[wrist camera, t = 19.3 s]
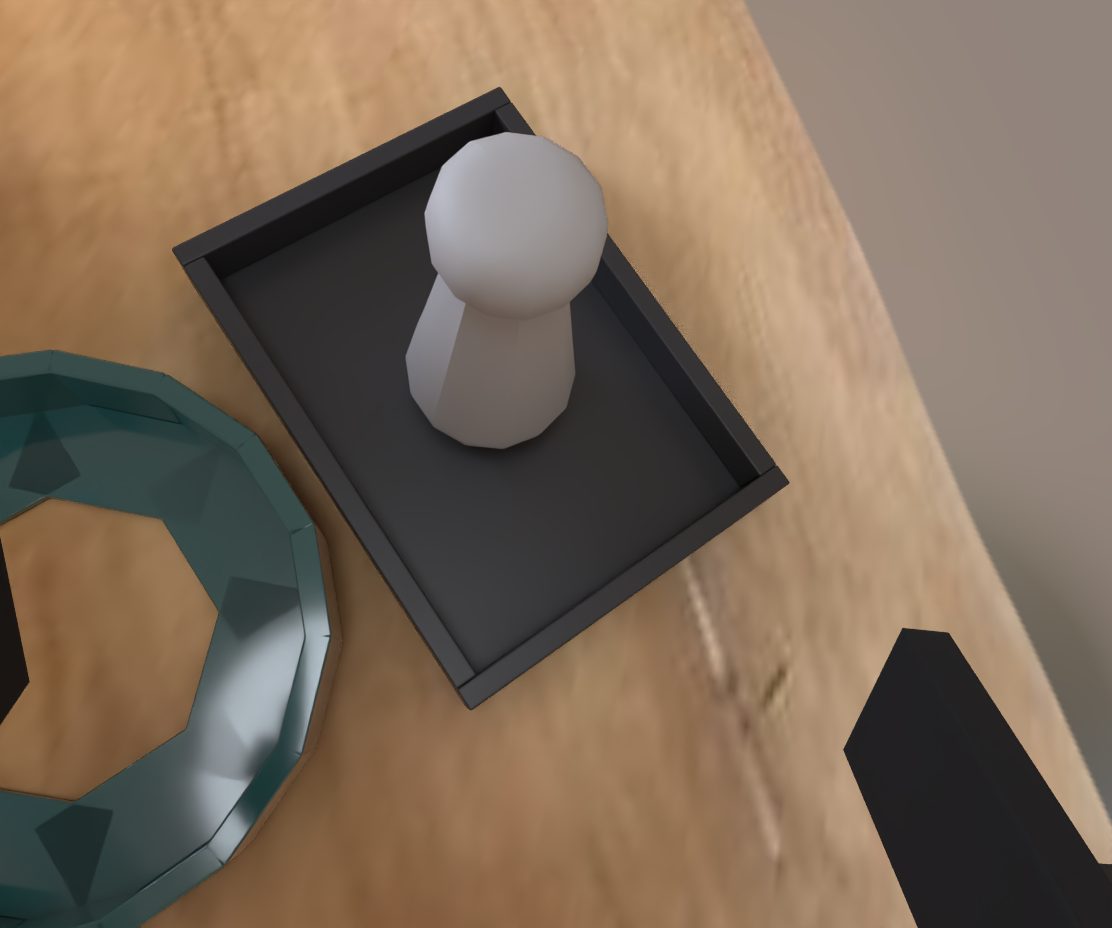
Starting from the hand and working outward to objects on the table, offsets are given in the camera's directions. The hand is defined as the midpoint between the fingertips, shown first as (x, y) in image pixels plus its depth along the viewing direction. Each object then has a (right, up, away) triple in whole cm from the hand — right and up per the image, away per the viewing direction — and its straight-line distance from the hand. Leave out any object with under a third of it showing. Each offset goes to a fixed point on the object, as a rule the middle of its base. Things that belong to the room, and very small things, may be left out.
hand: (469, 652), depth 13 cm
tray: (-1, +6, +19) cm, 20 cm away
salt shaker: (-1, +6, +19) cm, 20 cm away
